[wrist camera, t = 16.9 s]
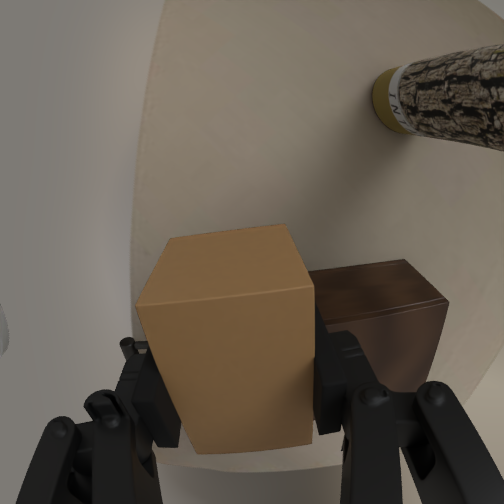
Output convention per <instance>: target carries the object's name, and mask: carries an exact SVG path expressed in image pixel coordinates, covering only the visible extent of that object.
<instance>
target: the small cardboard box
mask: <svg viewBox="0 0 504 504" xmlns="http://www.w3.org/2000/svg"><path fill="white" fill-rule="evenodd" d="M135 307H136V310H137V313H138V316H139V319H140V322H141V325H142V328H143V330H144V333H145V336H146V339H147V341H148V344H149V347H150V349H151V352H152V355H153V357H154V360H155V362H156V365H157V367H158V370H159V372H160V374H161V376H162V379H163V381H164V383H165V386H166V388H167V390H168V393H169V395H170V397H171V400H172V402H173V404H174V406H175V409H176V411H177V413H178V415H179V417H180V419H181V423H182V425H183V427H184V429H185V431H186V433H187V435H188V437H189V439H190V441H191V443H192V445H193V447H194V449H195V451H196V453H197V454H226V453H242V452H254V451H264V450H273V449H281V448H288V447H295V446H302V445H308V444H312V433H313V380H314V357H315V297H314V284H313V282H312V280H311V278H310V276H309V274H308V271H307V269H306V267H305V265H304V263H303V261H302V259H301V256H300V254H299V252H298V250H297V248H296V246H295V244H294V242H293V240H292V237H291V235H290V233H289V231H288V229H287V227H286V225H285V224H278V225H270V226H261V227H253V228H245V229H237V230H229V231H221V232H213V233H206V234H198V235H191V236H183V237H176V238H170V240H169V242H168V243H167V245H166V247H165V249H164V251H163V253H162V255H161V256H160V258H159V260H158V262H157V264H156V266H155V268H154V270H153V271H152V273H151V275H150V277H149V279H148V281H147V283H146V285H145V287H144V289H143V291H142V293H141V295H140V297H139V299H138V301H137V303H136V305H135Z"/></svg>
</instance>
